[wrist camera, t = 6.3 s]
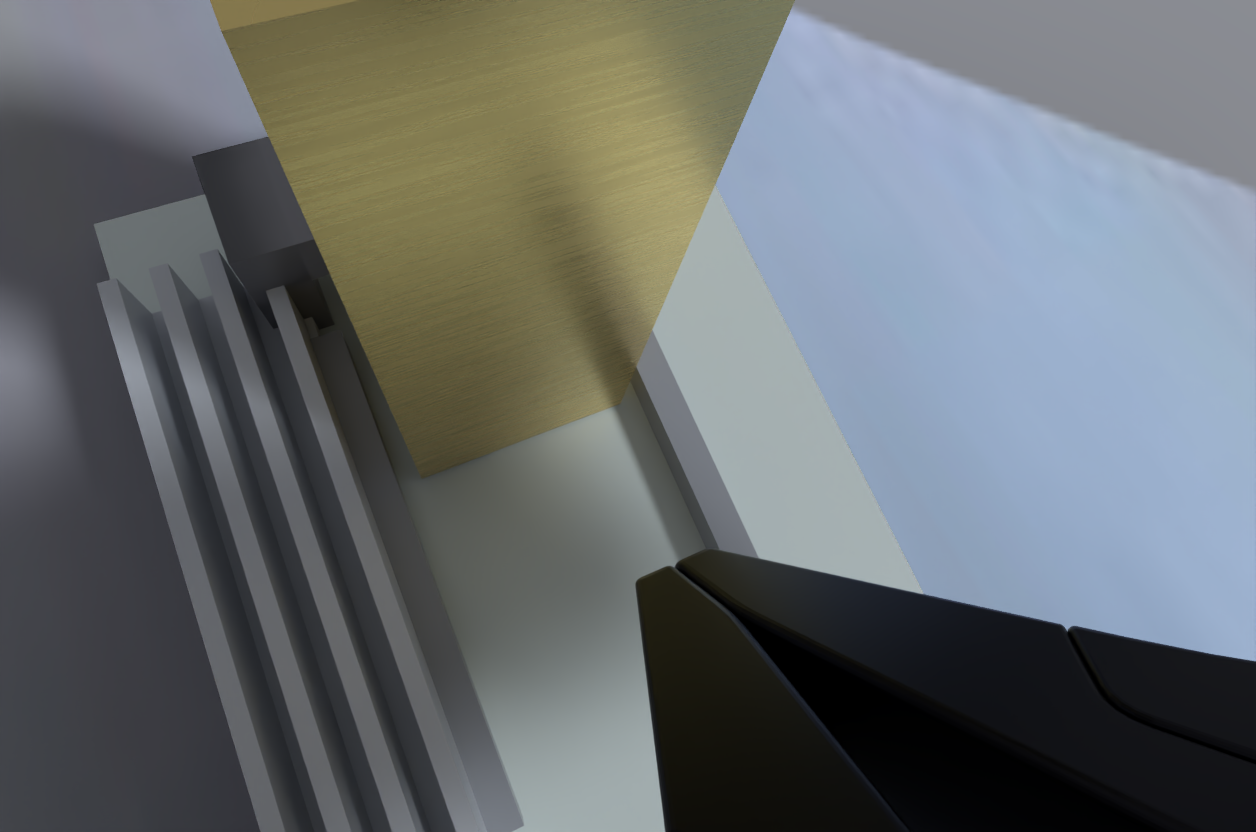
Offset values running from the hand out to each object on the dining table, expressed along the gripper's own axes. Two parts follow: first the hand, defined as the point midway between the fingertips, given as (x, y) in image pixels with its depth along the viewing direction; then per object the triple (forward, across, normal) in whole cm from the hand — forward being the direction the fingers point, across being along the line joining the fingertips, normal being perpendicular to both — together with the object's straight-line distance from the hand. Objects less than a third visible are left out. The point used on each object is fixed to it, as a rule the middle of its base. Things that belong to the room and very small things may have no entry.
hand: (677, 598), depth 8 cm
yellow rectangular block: (+10, 0, 0) cm, 10 cm away
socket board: (+8, 0, -3) cm, 8 cm away
